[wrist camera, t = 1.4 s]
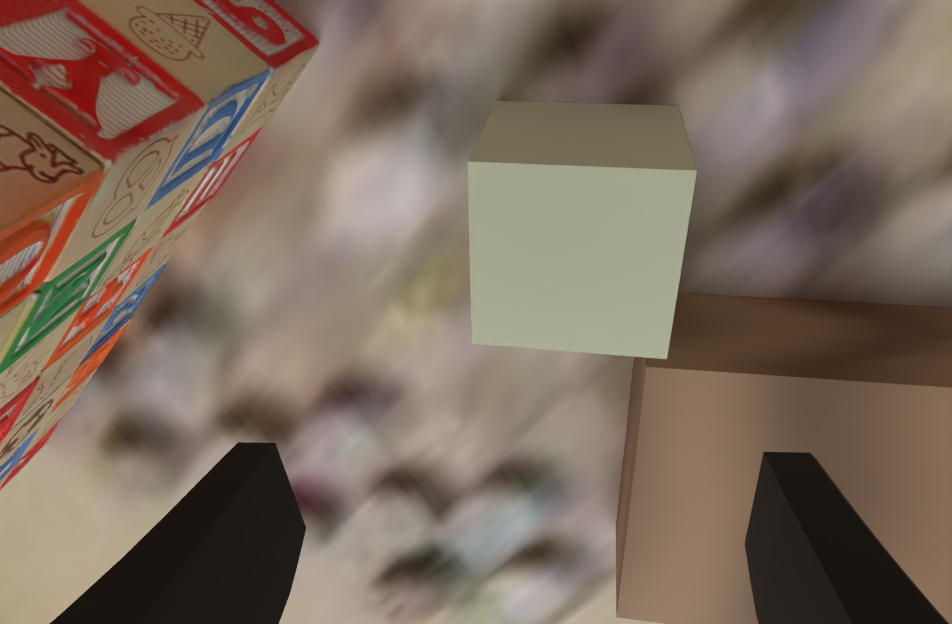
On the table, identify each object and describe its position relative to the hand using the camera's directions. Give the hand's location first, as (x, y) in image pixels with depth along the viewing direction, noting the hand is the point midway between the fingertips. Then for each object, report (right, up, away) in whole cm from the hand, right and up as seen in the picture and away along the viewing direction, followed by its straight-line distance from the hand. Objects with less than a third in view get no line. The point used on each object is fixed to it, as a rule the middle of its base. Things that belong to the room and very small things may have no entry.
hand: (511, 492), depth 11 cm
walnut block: (+9, -1, +12) cm, 15 cm away
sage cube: (+2, +6, +8) cm, 10 cm away
